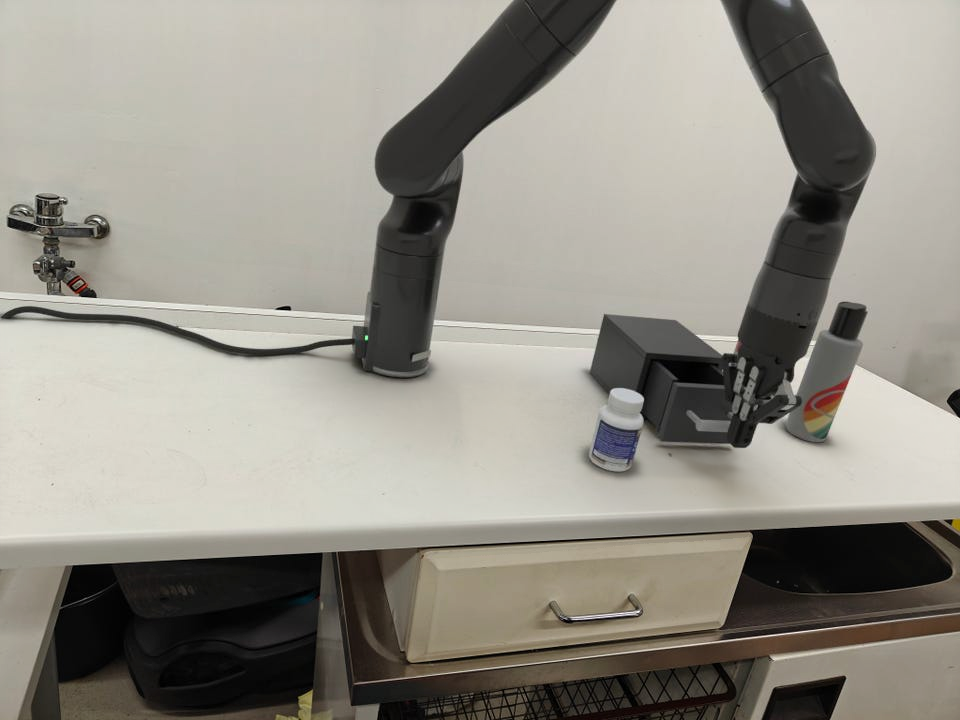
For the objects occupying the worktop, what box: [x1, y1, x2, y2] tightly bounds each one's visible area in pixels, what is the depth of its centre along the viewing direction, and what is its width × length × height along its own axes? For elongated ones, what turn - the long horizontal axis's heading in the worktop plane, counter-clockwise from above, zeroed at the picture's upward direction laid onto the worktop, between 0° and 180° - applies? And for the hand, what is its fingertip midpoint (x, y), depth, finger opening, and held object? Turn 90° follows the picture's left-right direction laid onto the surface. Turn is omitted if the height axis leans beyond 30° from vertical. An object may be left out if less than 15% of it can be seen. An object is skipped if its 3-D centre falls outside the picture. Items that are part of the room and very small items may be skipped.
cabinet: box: [589, 313, 723, 419], centre depth 106 cm, size 15×12×10 cm
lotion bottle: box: [785, 301, 869, 443], centre depth 101 cm, size 6×6×20 cm
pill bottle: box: [588, 388, 644, 473], centre depth 85 cm, size 5×5×9 cm
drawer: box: [641, 359, 735, 445], centre depth 96 cm, size 18×11×8 cm, turn 13°
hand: (736, 444), depth 86 cm, fingers closed
